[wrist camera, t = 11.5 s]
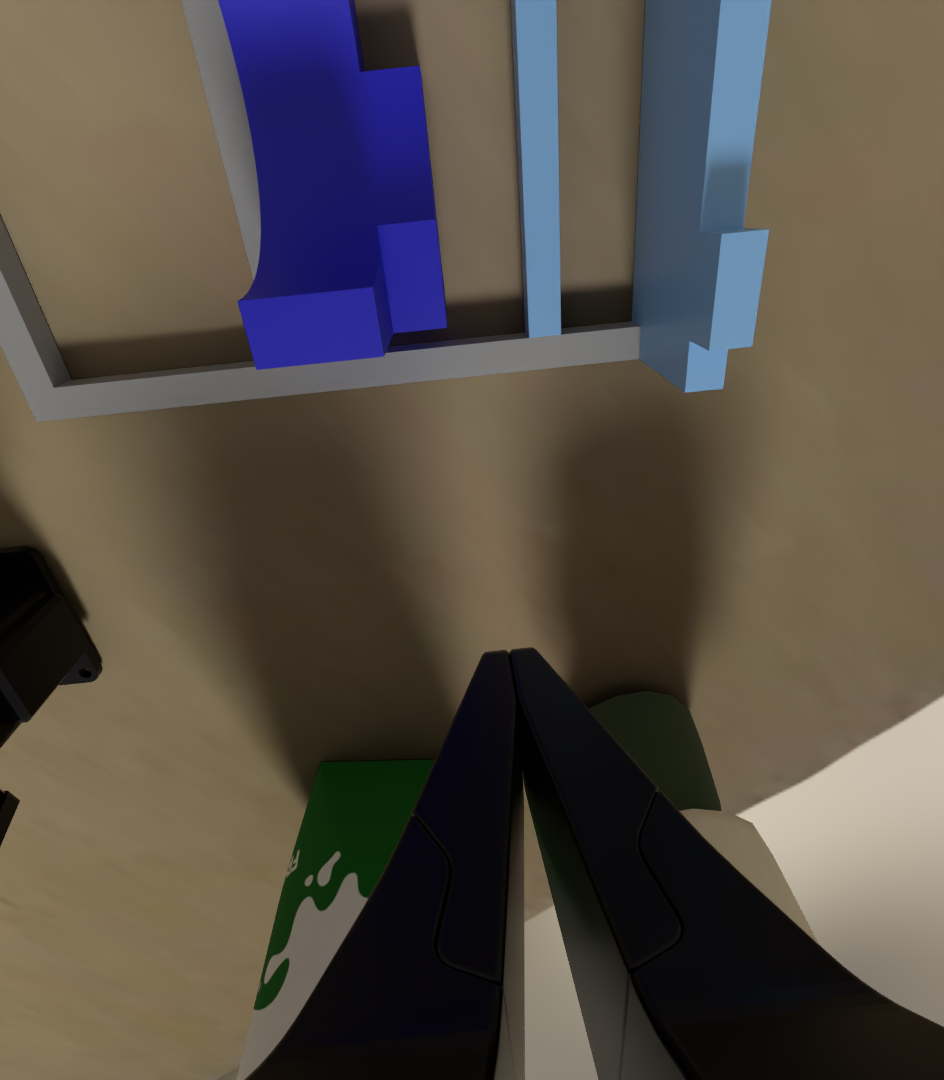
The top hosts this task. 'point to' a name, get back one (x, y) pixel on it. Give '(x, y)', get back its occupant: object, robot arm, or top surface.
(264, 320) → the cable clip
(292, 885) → the milk carton
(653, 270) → the blue grey rack
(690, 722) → the character mug
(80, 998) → the top surface
